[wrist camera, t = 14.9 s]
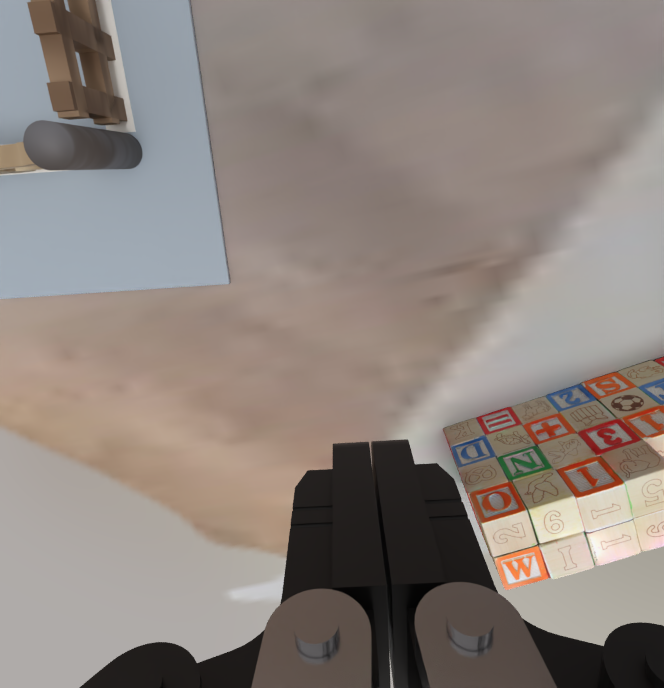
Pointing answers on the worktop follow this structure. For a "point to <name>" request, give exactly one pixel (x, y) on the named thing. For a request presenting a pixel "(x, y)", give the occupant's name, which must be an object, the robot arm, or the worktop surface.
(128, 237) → the card
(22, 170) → the hinged fence panel
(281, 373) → the worktop surface
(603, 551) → the stack of blocks
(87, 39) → the fixed fence
